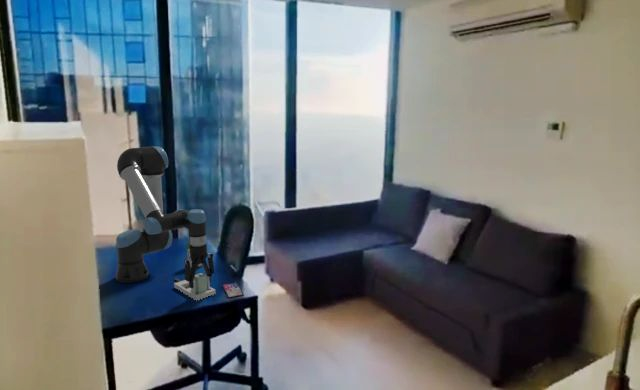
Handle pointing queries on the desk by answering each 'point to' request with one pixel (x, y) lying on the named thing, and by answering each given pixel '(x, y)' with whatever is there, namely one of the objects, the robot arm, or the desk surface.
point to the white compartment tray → (185, 288)
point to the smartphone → (232, 290)
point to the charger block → (200, 283)
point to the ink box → (189, 255)
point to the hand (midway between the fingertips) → (200, 291)
